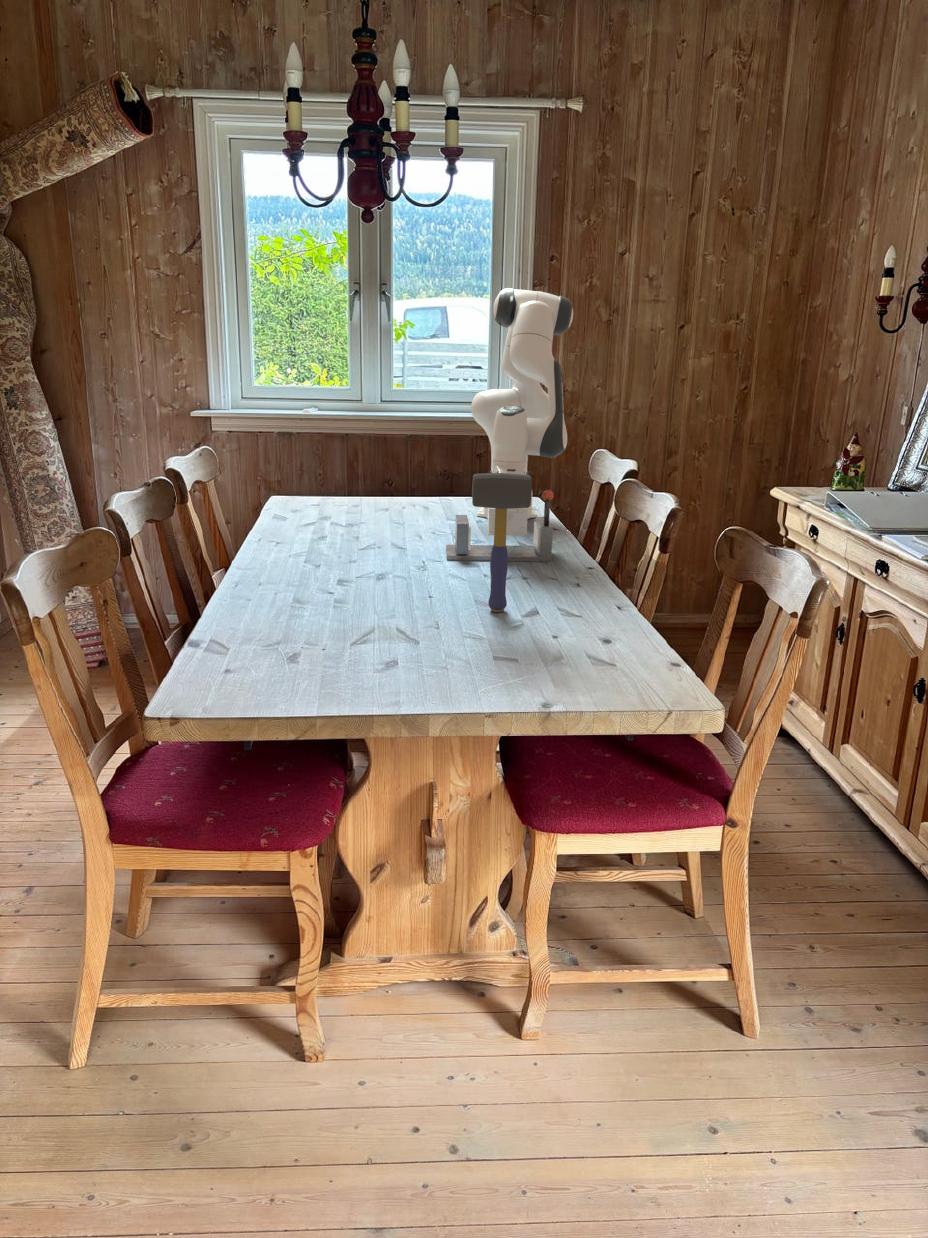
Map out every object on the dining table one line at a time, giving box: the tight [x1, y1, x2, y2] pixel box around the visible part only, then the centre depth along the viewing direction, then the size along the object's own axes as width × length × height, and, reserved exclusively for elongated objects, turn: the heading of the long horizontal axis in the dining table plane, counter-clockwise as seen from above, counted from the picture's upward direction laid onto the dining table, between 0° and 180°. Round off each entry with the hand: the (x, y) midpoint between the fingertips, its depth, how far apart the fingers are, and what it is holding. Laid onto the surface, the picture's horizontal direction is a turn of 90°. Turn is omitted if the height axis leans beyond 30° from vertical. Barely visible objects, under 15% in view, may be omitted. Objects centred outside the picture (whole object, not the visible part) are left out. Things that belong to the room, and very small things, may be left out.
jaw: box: [454, 514, 472, 554], centre depth 257 cm, size 11×4×8 cm, turn 2°
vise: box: [445, 489, 554, 563], centre depth 256 cm, size 12×27×18 cm, turn 92°
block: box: [486, 508, 528, 537], centre depth 256 cm, size 5×10×7 cm, turn 92°
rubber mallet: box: [471, 472, 533, 613], centre depth 208 cm, size 12×8×30 cm, turn 91°
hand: (507, 523), depth 257 cm, fingers closed on block, 5 cm apart
